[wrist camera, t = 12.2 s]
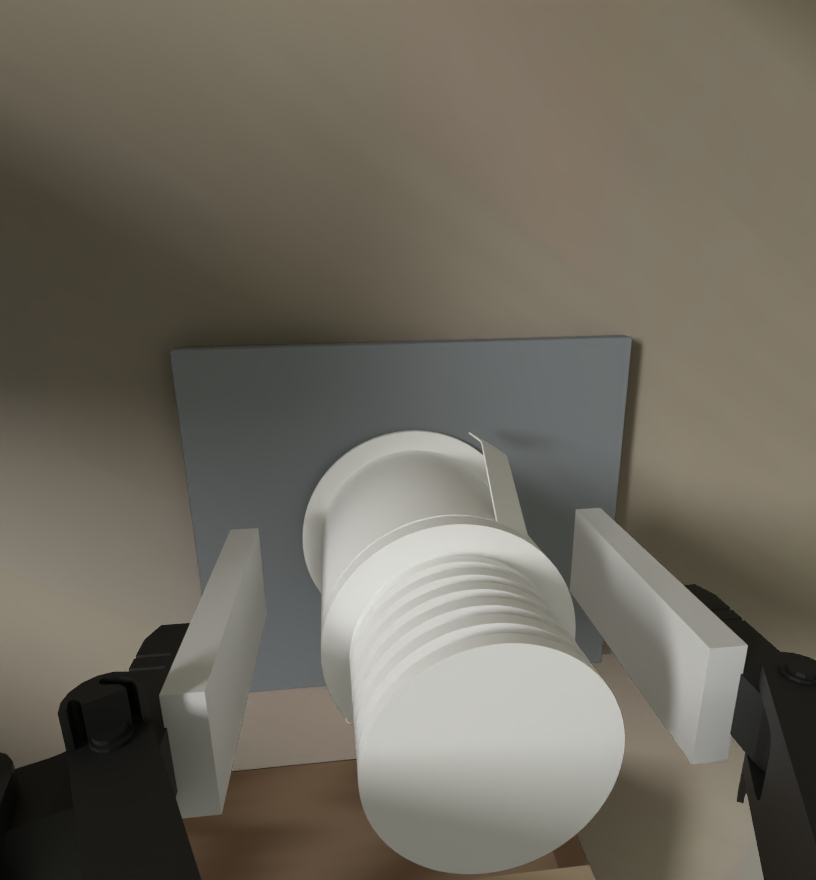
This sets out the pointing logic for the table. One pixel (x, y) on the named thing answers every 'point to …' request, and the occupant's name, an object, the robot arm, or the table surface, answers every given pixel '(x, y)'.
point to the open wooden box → (324, 834)
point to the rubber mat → (377, 413)
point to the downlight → (455, 657)
